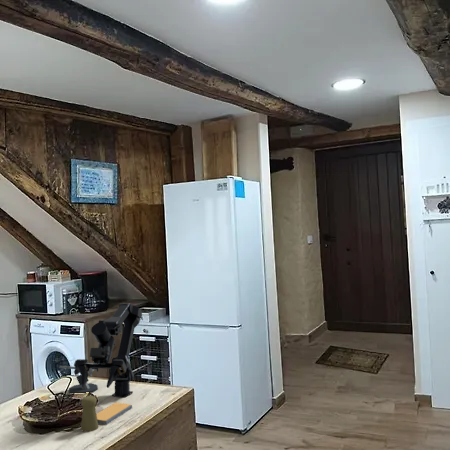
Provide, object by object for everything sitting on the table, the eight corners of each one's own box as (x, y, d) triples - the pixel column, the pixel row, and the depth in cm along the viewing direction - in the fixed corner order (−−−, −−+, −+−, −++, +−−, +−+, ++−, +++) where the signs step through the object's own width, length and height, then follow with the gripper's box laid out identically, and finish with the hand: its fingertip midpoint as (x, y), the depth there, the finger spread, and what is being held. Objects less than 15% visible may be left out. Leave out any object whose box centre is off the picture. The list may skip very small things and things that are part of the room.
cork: (79, 426, 183) (78, 395, 183) (96, 423, 185) (96, 393, 185) (82, 432, 178) (81, 401, 177) (99, 429, 180) (98, 398, 180)
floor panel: (114, 405, 203) (114, 402, 203) (132, 408, 200) (132, 404, 200) (88, 421, 187) (88, 418, 187) (106, 424, 184) (106, 420, 184)
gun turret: (66, 383, 234) (66, 355, 234) (105, 386, 228) (104, 357, 227) (49, 392, 222) (48, 362, 222) (88, 396, 216) (88, 365, 215)
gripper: (75, 338, 194) (63, 376, 183) (123, 338, 192) (114, 376, 181) (84, 353, 202) (73, 390, 191) (130, 353, 200) (121, 391, 189)
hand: (95, 387), depth 188 cm, fingers open, 9 cm apart
